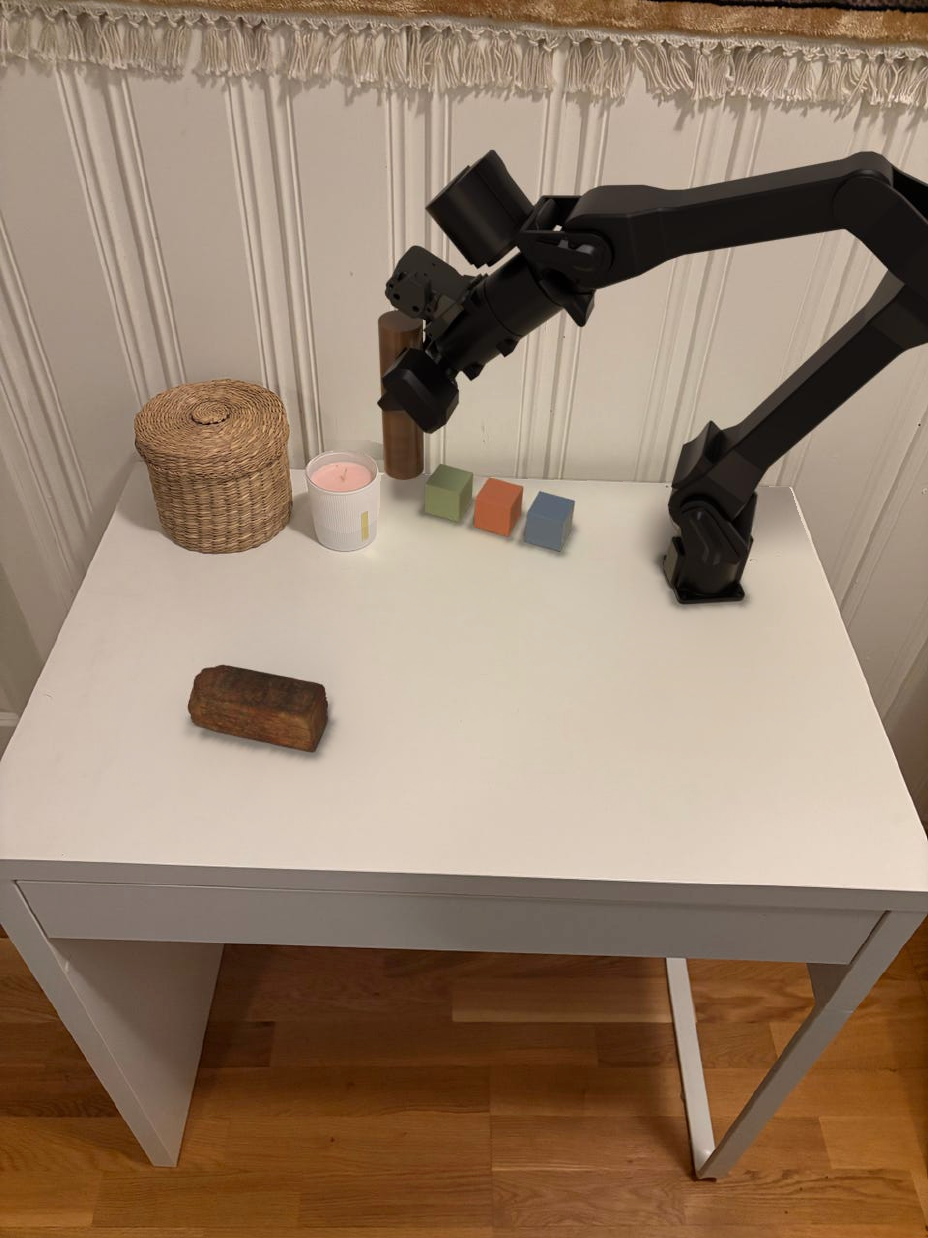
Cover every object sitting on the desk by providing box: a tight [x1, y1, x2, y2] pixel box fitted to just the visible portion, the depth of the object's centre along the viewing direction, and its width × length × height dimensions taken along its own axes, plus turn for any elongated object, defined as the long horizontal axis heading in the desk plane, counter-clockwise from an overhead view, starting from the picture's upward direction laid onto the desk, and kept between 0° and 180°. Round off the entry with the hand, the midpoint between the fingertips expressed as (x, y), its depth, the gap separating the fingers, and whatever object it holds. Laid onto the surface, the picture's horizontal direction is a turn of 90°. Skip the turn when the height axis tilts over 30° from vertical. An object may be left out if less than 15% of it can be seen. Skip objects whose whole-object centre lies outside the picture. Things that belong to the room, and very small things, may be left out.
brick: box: [187, 664, 329, 752], centre depth 75 cm, size 11×4×5 cm, turn 77°
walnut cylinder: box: [377, 309, 425, 481], centre depth 87 cm, size 4×4×16 cm
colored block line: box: [424, 463, 576, 552], centre depth 95 cm, size 15×4×4 cm, turn 67°
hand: (389, 394), depth 87 cm, fingers closed on walnut cylinder, 4 cm apart
